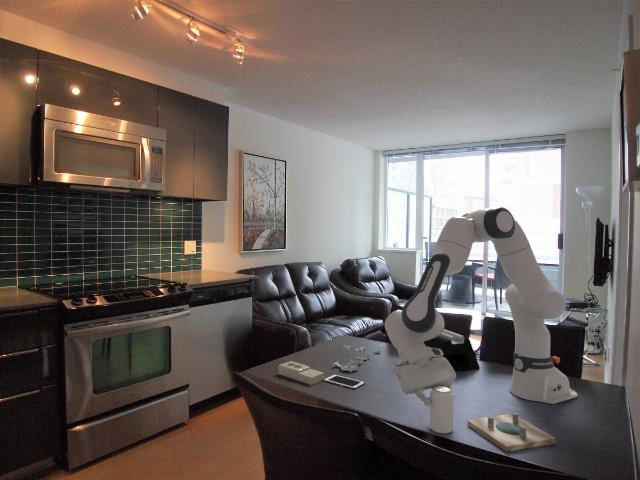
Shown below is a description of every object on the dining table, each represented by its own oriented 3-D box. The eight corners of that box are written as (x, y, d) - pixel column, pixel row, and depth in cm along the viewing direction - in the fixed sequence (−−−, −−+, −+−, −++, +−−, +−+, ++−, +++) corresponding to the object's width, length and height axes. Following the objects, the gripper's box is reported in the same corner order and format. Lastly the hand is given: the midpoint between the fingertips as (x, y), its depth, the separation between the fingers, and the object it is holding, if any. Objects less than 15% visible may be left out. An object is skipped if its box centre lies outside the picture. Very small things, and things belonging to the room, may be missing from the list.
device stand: (445, 354, 196) (446, 323, 196) (479, 370, 175) (480, 334, 174) (404, 359, 188) (404, 326, 188) (434, 375, 167) (434, 338, 167)
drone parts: (304, 366, 180) (304, 359, 180) (342, 348, 210) (342, 341, 210) (353, 374, 168) (353, 366, 168) (386, 353, 198) (385, 346, 198)
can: (428, 432, 119) (429, 390, 119) (430, 422, 125) (431, 382, 125) (452, 436, 117) (452, 393, 117) (453, 426, 123) (454, 385, 123)
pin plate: (511, 418, 129) (512, 405, 129) (555, 443, 113) (555, 429, 113) (467, 424, 124) (467, 411, 124) (506, 452, 109) (506, 437, 109)
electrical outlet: (311, 375, 155) (278, 364, 167) (311, 386, 155) (278, 374, 167) (324, 370, 160) (291, 360, 172) (324, 381, 161) (291, 370, 172)
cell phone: (334, 376, 166) (334, 373, 166) (366, 384, 157) (366, 382, 157) (322, 381, 160) (322, 379, 160) (355, 390, 151) (355, 388, 151)
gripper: (396, 358, 122) (420, 404, 114) (444, 348, 133) (470, 389, 125) (386, 369, 126) (408, 414, 118) (433, 359, 137) (457, 399, 129)
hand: (440, 401), depth 121 cm, fingers open, 8 cm apart
